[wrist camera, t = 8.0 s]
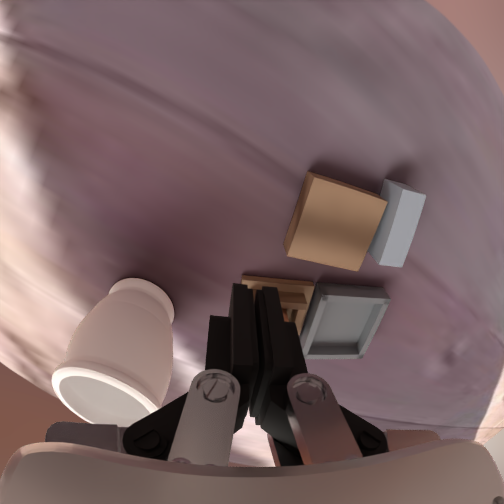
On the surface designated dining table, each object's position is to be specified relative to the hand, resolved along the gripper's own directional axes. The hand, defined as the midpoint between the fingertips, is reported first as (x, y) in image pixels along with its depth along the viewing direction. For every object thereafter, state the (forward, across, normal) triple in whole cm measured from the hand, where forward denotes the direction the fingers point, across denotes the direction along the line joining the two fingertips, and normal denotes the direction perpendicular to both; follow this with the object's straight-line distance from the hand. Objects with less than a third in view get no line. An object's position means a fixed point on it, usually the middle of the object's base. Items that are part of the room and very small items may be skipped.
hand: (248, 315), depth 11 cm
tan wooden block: (+19, -10, +2) cm, 21 cm away
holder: (+18, -5, +14) cm, 23 cm away
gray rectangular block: (+18, -16, 0) cm, 24 cm away
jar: (+19, +10, +15) cm, 26 cm away
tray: (+18, -14, +14) cm, 27 cm away
